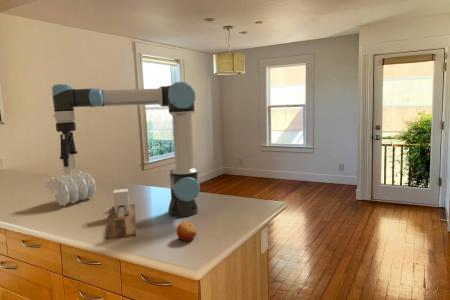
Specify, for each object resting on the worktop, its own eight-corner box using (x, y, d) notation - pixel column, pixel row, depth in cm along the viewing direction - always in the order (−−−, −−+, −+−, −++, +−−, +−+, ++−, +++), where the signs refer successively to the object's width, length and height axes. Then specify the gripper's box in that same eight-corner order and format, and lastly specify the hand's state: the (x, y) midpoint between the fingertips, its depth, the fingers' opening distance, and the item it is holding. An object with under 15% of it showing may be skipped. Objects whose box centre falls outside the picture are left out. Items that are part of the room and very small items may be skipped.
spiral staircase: (96, 203, 210) (60, 213, 188) (78, 189, 217) (41, 197, 195) (104, 178, 205) (68, 185, 183) (85, 164, 212) (48, 169, 190)
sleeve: (129, 210, 174) (127, 188, 172) (129, 214, 168) (127, 191, 167) (115, 212, 172) (114, 189, 171) (115, 216, 167) (113, 192, 165)
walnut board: (134, 206, 188) (133, 192, 187) (136, 236, 144) (134, 217, 143) (112, 208, 185) (110, 194, 184) (106, 240, 141) (104, 221, 140)
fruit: (177, 231, 144) (185, 216, 142) (192, 241, 143) (201, 226, 141) (169, 238, 137) (177, 222, 135) (185, 249, 135) (194, 234, 133)
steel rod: (125, 202, 184) (125, 197, 183) (124, 228, 144) (123, 222, 143) (120, 202, 183) (119, 197, 183) (117, 229, 143) (116, 222, 143)
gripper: (61, 121, 154) (67, 167, 157) (48, 123, 130) (54, 177, 133) (79, 120, 156) (84, 166, 159) (69, 122, 132) (75, 176, 135)
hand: (70, 171), depth 146 cm, fingers open, 13 cm apart
